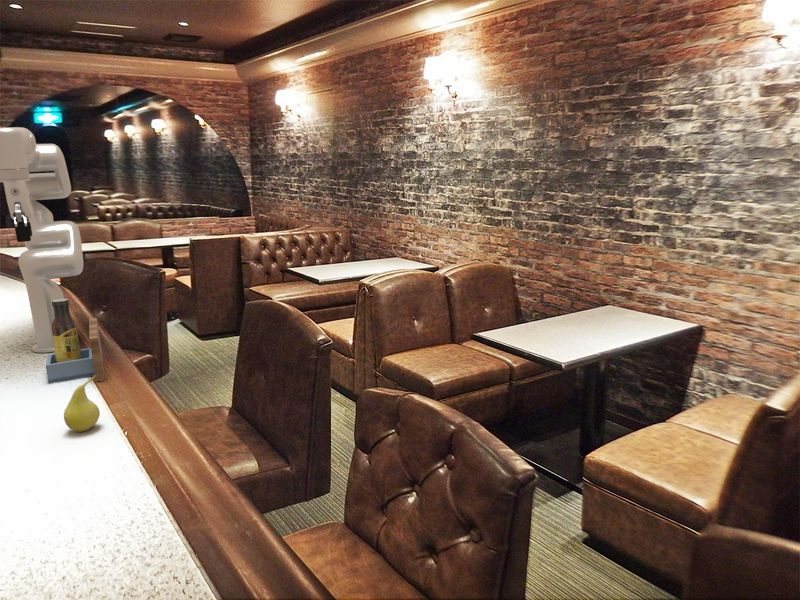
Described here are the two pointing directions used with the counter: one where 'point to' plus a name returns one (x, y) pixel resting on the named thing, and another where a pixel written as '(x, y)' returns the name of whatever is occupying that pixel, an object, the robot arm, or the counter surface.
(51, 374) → the caddy
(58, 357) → the sauce bottle
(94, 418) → the fruit
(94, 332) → the back board
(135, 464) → the counter surface
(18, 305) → the counter surface
